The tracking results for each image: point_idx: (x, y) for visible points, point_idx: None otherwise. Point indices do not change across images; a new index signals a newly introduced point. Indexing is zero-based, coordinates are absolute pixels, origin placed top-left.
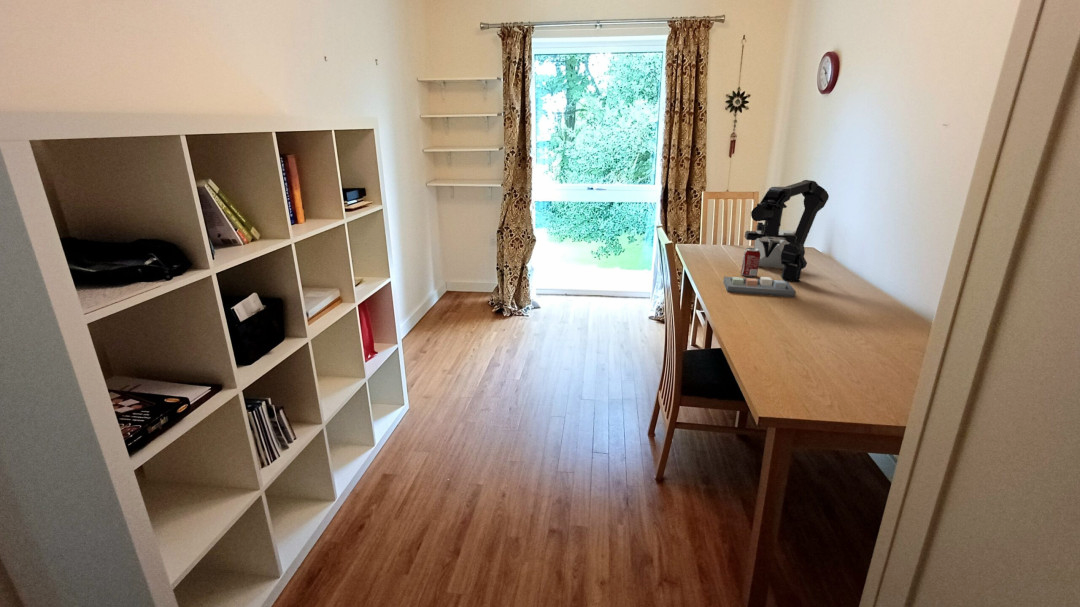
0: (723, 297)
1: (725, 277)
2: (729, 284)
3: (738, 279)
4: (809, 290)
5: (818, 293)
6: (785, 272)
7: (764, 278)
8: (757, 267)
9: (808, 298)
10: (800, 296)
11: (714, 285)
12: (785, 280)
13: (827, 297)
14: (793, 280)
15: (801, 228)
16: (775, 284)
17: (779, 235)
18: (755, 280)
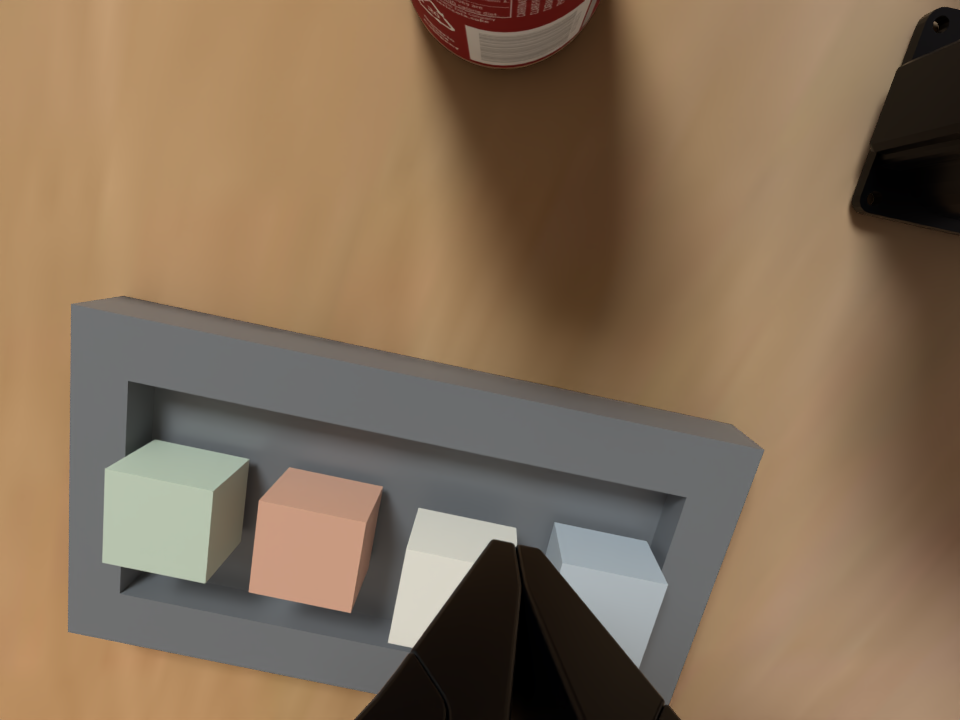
0: (61, 701)
1: (82, 341)
2: (85, 582)
3: (154, 560)
4: (907, 517)
5: (931, 595)
6: (953, 148)
7: (423, 615)
8: None
9: (743, 711)
10: (704, 669)
11: (22, 408)
12: (861, 213)
13: (931, 687)
14: (956, 226)
15: None
16: None
17: None
18: (334, 588)
